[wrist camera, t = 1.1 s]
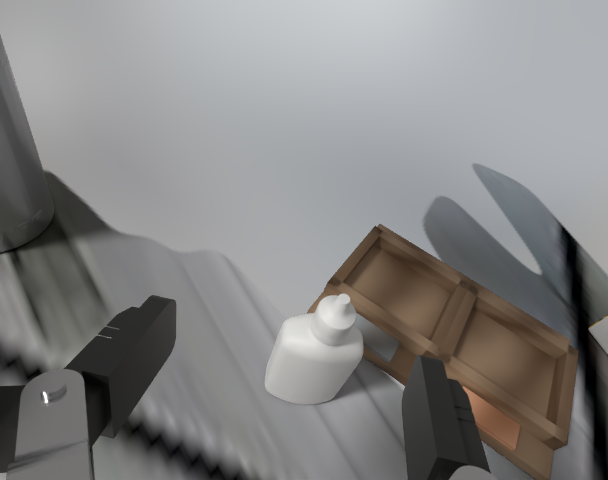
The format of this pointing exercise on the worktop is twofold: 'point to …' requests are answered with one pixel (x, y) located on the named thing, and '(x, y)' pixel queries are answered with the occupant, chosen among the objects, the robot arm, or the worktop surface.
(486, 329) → the wooden compartment tray
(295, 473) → the worktop surface
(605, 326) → the medicine bottle
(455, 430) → the robot arm
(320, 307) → the eye dropper bottle
